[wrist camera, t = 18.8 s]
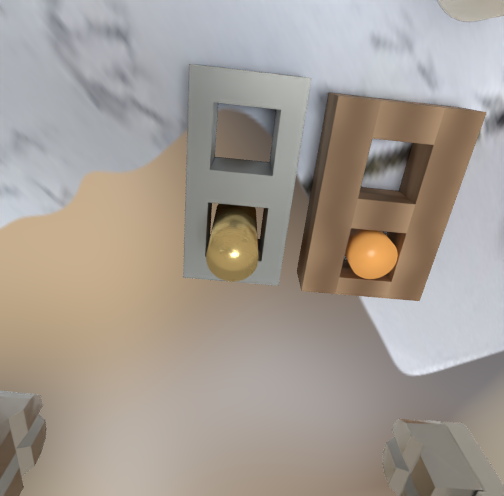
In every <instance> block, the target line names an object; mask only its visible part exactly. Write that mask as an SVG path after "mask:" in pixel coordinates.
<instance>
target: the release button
mask: <svg viewBox="0 0 504 496" xmlns="http://www.w3.org/2000/svg"><path fill="white" fill-rule="evenodd" d="M345 256H346V258H347V260H348V262H349V264H350V266H351V268H352V270H353V271H354V273H355V274H357V275H358V276H360V277H362V278H365V279H376V278H380V277H382V276H384V275H386V274H387V273H389V272H390V271H391V270H392V269H393V267H394V266H395V264H396V261H397V257H398V253H397V249H396V247H395V245H394V244H393V243H392V241H391V240H390V239H389V238H388V237H387V235H386V234H385V233H384V232H383V231H376V230H365V229H355V228H351V230H350V234H349V239H348V243H347V247H346V251H345Z"/></svg>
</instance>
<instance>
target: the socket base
mask: <svg viewBox="0 0 504 496" xmlns="http://www.w3.org/2000/svg"><path fill="white" fill-rule="evenodd" d="M486 113H487V112H481V111H476V110H471V109H466V108H460V107H451V106H442V105H434V104H425V103H416V102H407V101H398V100H389V99H381V98H372V97H363V96H354V95H345V94H336V93H329V94H328V100H327V105H326V111H325V117H324V122H323V128H322V133H321V139H320V145H319V150H318V156H317V161H316V167H315V173H314V178H313V184H312V189H311V195H310V200H309V206H308V212H307V217H306V223H305V229H304V234H303V240H302V245H301V251H300V256H299V262H298V268H297V274H298V278H299V282H300V286H301V291H307V292H319V293H331V294H343V295H355V296H366V297H378V298H390V299H402V300H414V301H420V298H421V295H422V293H423V290H424V287H425V284H426V281H427V279H428V276H429V273H430V270H431V267H432V265H433V262H434V259H435V256H436V253H437V250H438V248H439V245H440V242H441V239H442V236H443V234H444V231H445V228H446V225H447V222H448V220H449V217H450V214H451V211H452V208H453V205H454V203H455V200H456V197H457V194H458V191H459V189H460V186H461V183H462V180H463V177H464V175H465V172H466V169H467V166H468V163H469V160H470V158H471V155H472V152H473V149H474V146H475V144H476V141H477V138H478V135H479V132H480V129H481V127H482V124H483V121H484V118H485V115H486ZM372 138H374V139H383V140H393V141H402V142H411V143H413V144H412V147H411V151H410V154H409V158H408V161H407V165H406V168H405V172H404V176H403V179H402V183H401V186H400V190H399V191H393V190H383V189H373V188H363V187H361V184H362V180H363V175H364V171H365V167H366V163H367V159H368V154H369V150H370V146H371V142H372ZM351 228H355V229H365V230H376V231H387V237H388V238H389V239H390V240H391V241H392V243H393V244H394V245H395V247H396V249H397V253H398V257H397V261H396V264H395V266H394V267H393V269H392V270H391V271H390V272H389V273H387V274H386V275H384V276H382V277H380V278H376V279H365V278H362V277H360V276H358V275H357V274H355V273H354V271H353V270H352V268H351V266H350V264H349V262H348V260H344V256H345V251H346V247H347V243H348V239H349V234H350V230H351Z"/></svg>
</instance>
